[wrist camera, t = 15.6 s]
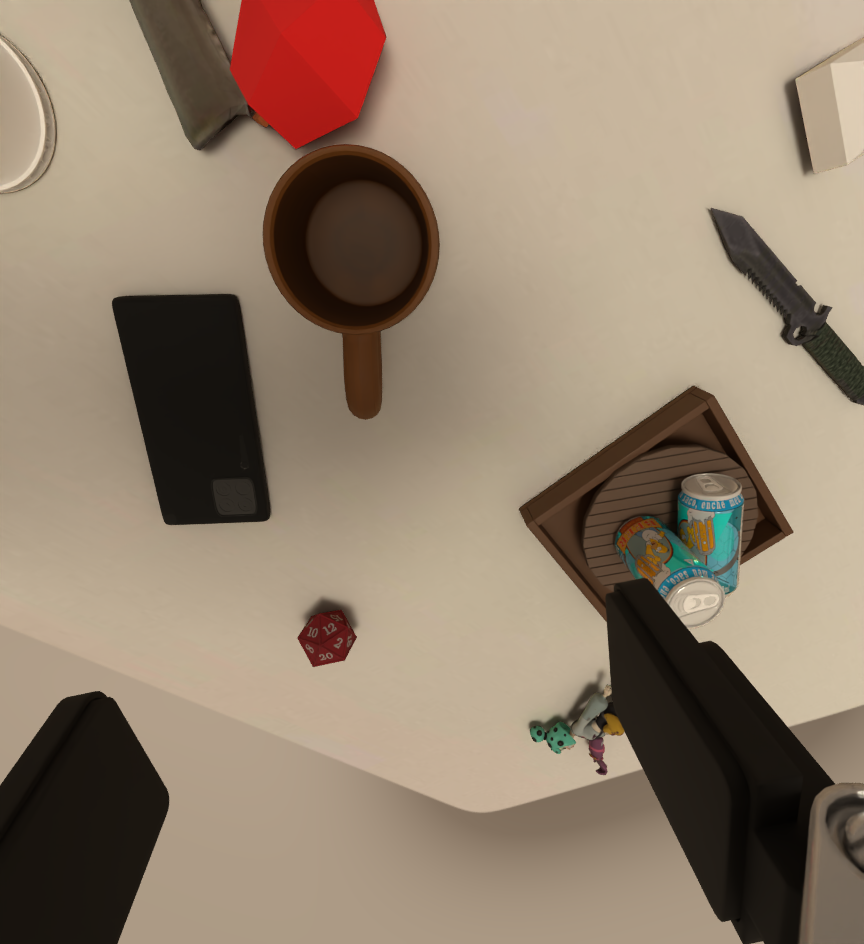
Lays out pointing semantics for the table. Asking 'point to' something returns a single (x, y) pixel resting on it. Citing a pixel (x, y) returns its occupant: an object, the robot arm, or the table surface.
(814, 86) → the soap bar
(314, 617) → the dice
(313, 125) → the red faceted polyhedron
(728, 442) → the tray
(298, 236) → the mug
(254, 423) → the smartphone
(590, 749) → the figurine
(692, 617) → the blue cans and disc
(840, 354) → the knife
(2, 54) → the vase
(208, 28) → the sculpture
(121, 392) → the table surface
